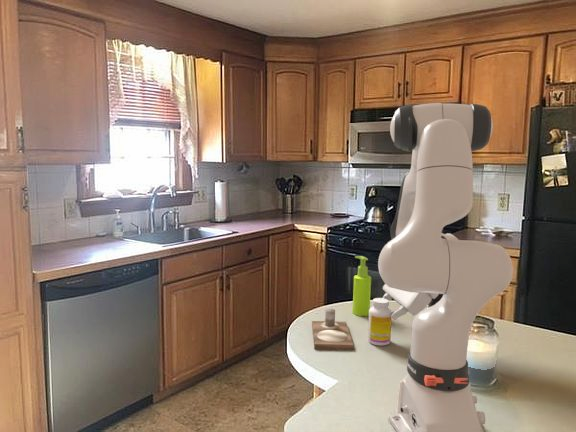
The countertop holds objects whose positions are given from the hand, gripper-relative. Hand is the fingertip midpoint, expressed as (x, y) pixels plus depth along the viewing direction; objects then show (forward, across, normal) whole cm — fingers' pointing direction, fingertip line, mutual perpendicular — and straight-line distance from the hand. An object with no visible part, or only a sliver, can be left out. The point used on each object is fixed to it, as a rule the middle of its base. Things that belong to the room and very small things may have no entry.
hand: (385, 312), depth 138 cm
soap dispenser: (+6, -25, +7) cm, 27 cm away
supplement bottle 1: (+8, 0, +5) cm, 9 cm away
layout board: (+17, -5, -4) cm, 18 cm away
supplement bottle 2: (-12, -16, +25) cm, 32 cm away
